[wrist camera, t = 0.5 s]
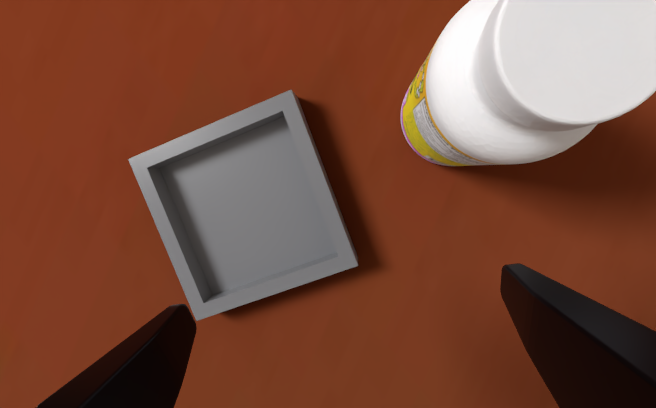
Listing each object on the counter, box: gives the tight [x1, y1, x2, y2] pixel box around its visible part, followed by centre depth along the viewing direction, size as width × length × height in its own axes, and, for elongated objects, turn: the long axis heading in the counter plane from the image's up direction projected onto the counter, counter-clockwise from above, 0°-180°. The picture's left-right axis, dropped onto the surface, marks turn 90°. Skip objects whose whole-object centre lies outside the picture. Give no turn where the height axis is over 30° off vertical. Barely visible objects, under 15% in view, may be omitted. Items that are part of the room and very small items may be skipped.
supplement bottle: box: [401, 0, 656, 166], centre depth 14 cm, size 7×7×13 cm
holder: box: [128, 90, 358, 321], centre depth 22 cm, size 12×12×2 cm
